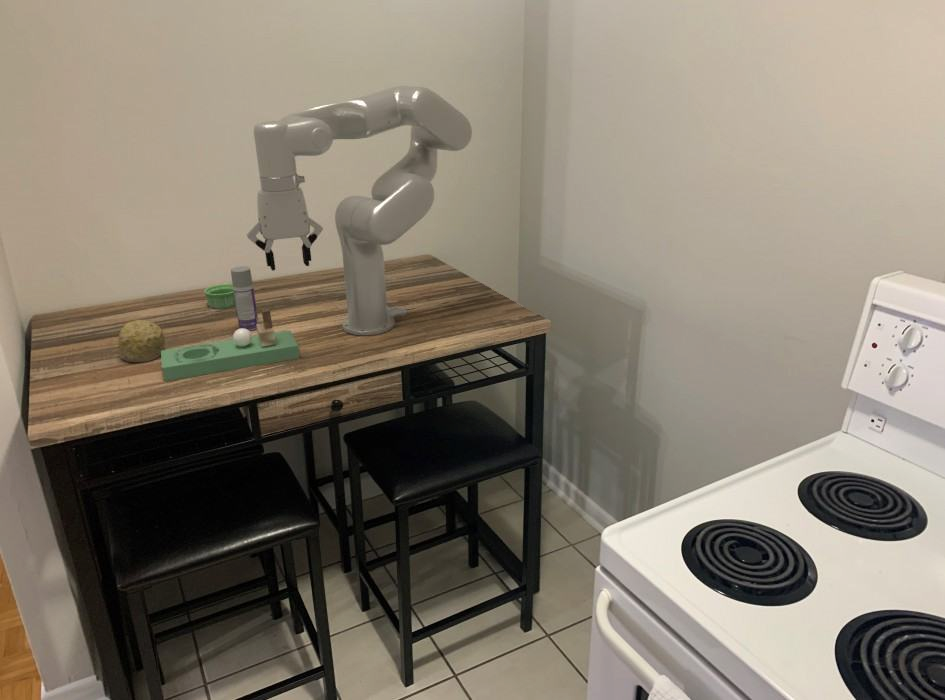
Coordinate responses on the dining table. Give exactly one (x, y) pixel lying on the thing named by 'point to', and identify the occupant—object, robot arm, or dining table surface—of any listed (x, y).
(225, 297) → the ramekin
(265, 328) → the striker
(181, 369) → the putting green
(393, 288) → the dining table surface
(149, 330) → the rock
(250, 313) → the container
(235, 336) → the golf ball
